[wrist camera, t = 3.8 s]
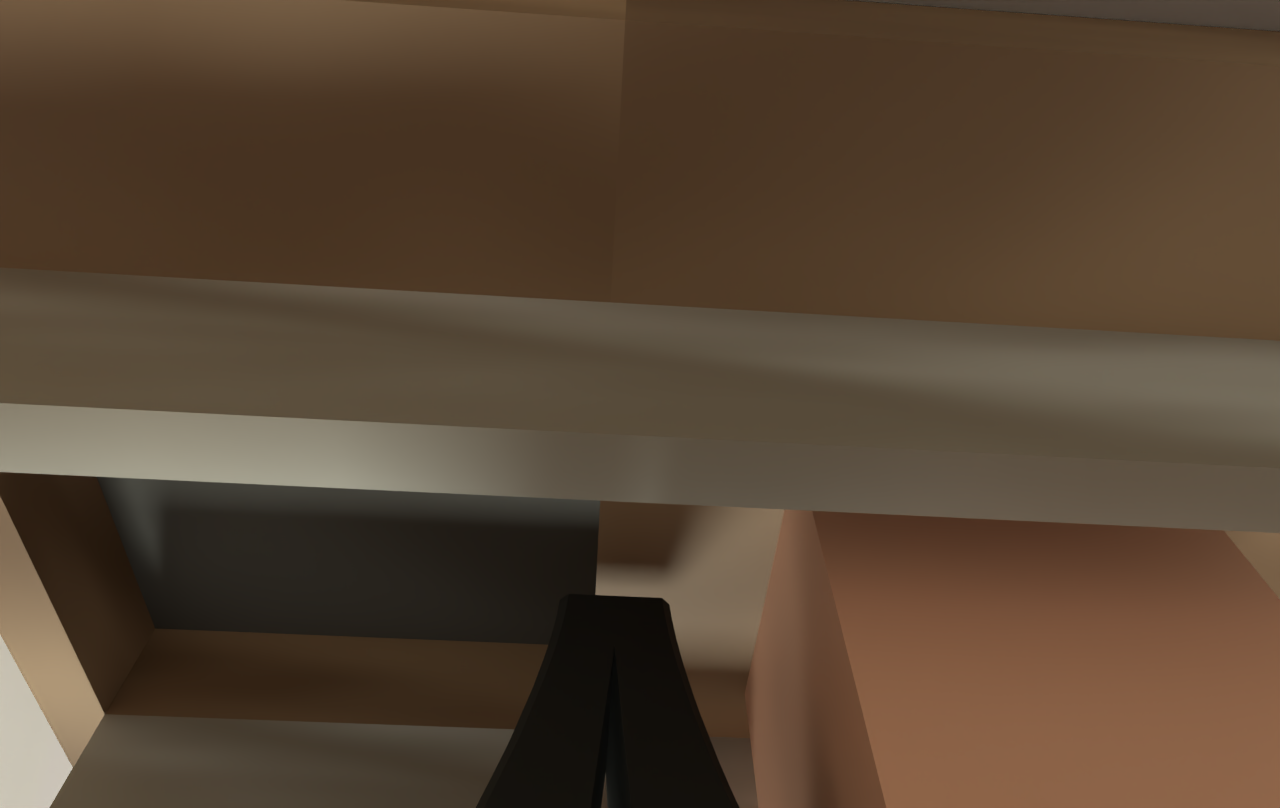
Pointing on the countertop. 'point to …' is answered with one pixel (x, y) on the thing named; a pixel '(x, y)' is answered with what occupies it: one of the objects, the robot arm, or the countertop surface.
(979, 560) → the block
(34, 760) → the countertop surface
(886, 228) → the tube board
